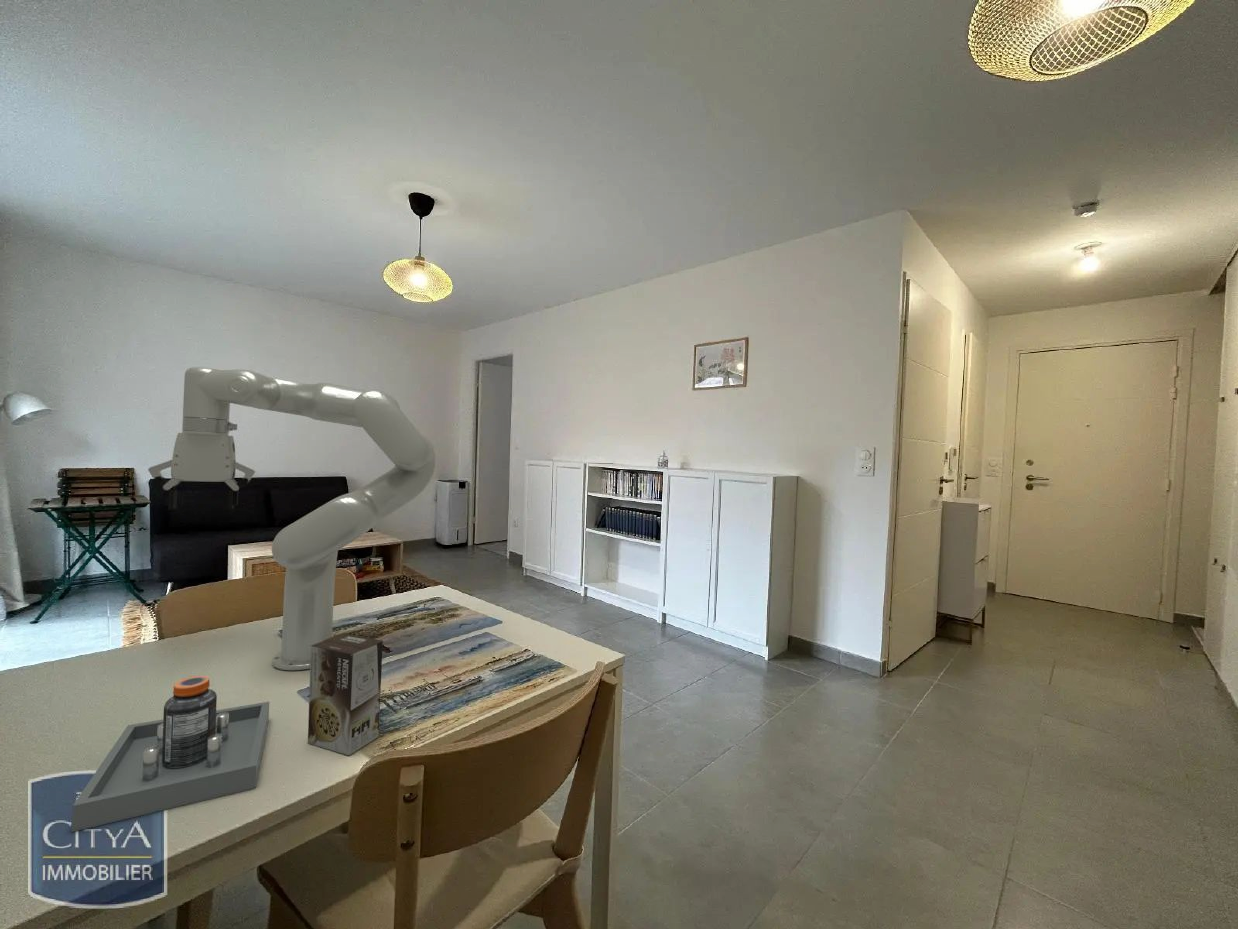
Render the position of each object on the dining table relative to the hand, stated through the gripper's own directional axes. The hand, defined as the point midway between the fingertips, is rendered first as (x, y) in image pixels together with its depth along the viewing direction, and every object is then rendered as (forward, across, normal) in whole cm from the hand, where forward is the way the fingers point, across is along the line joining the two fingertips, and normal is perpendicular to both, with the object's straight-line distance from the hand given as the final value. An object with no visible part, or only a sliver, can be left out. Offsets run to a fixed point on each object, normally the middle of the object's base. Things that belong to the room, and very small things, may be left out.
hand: (202, 508), depth 105 cm
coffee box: (+34, -26, +43) cm, 60 cm away
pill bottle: (+32, -6, +41) cm, 52 cm away
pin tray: (+33, -6, +41) cm, 53 cm away
